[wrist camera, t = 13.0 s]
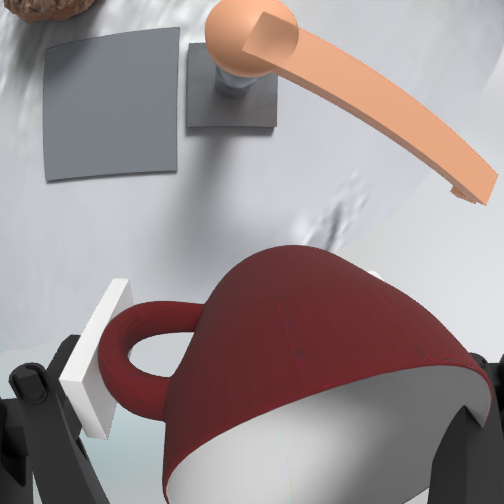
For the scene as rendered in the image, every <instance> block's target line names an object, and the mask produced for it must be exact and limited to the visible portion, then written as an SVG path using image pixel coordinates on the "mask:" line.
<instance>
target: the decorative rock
mask: <svg viewBox="0 0 504 504" xmlns="http://www.w3.org/2000/svg"><path fill="white" fill-rule="evenodd" d="M94 1H96V0H4V7H6V8H7V9H9V10H10V11H11V13H12V14H17V15H18V16H19V17H20V20H23V21H25V22H27V23H33V22H35V21H39V20H51V21H54V20H66V19H68V18H70V17H71V16H74V15H77V14H80V13H81V12H84V11H86V10H87V9H88V7H89V6H90V5H91V4H92V3H93V2H94Z"/></svg>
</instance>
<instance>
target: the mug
mask: <svg viewBox="0 0 504 504" xmlns="http://www.w3.org/2000/svg"><path fill="white" fill-rule="evenodd" d="M178 332H194V335H193V337H192V339H191V342H190V344H189V346H188V348H187V350H186V352H185V355H184V357H183V359H182V361H181V363H180V364H179V366H178V368H177V369H176V371H175V373H174V374H173V375H172V376H171V377H161V376H156V375H152V374H149V373H146V372H143V371H141V370H139V369H138V368H136V367H135V366H134V365H133V364H132V363H131V362H130V361H129V359H128V353H129V351H130V350H131V349H132V347H133V346H134V345H135V344H136V343H138V342H139V341H141V340H143V339H146V338H148V337H152V336H155V335H160V334H167V333H178ZM97 357H98V367H99V371H100V374H101V377H102V380H103V382H104V385H105V387H106V388H107V390H108V391H109V393H110V394H111V396H112V397H113V398H114V399H115V400H116V401H117V402H118V403H119V404H120V405H121V406H122V407H123V408H125V409H127V410H128V411H130V412H131V413H133V414H136V415H138V416H141V417H144V418H148V419H152V420H158V421H163V422H165V423H166V431H165V443H164V458H163V475H162V486H163V494H164V497H165V500H166V502H167V504H404V503H405V502H407V501H409V500H411V499H412V498H414V497H415V496H417V495H418V494H420V493H421V492H423V491H424V490H426V489H427V488H429V487H430V478H431V469H432V461H433V459H434V456H435V454H436V451H437V449H438V447H439V444H440V442H441V440H442V438H443V436H444V434H445V432H446V430H447V428H448V426H449V424H450V422H451V421H452V419H453V418H454V416H455V415H456V413H457V412H458V411H459V410H460V408H461V407H462V406H463V405H464V404H465V406H466V407H467V408H468V410H469V411H470V412H471V413H472V415H473V416H474V417H475V419H476V420H477V421H478V423H479V424H480V425H481V427H484V426H485V424H486V421H487V419H488V416H489V413H490V410H491V406H492V399H493V390H492V386H491V382H490V380H489V378H488V376H487V375H486V373H485V372H484V370H483V369H482V368H481V367H480V366H479V364H478V363H477V362H476V361H475V360H474V359H473V357H472V356H471V355H470V354H469V353H468V351H467V350H466V349H465V348H464V347H463V346H462V345H461V344H460V342H459V341H458V340H457V339H456V338H455V337H454V336H453V335H452V334H451V333H450V332H449V331H448V330H447V329H446V327H445V326H444V325H443V324H442V323H441V322H440V321H439V320H438V319H437V318H436V317H435V316H433V315H432V314H431V313H430V312H429V311H428V310H427V309H425V308H424V307H423V306H422V305H420V304H419V303H418V302H416V301H415V300H413V299H412V298H410V297H409V296H408V295H406V294H405V293H403V292H401V291H400V290H398V289H396V288H395V287H393V286H391V285H389V284H387V283H386V282H384V281H382V280H380V279H379V278H377V277H375V276H373V275H372V274H370V273H368V272H366V271H364V270H363V269H361V268H359V267H357V266H355V265H353V264H352V263H350V262H348V261H346V260H344V259H342V258H341V257H339V256H337V255H335V254H333V253H330V252H328V251H325V250H322V249H319V248H315V247H309V246H302V245H286V246H278V247H273V248H269V249H266V250H263V251H260V252H258V253H255V254H253V255H251V256H250V257H248V258H246V259H244V260H243V261H241V262H240V263H238V264H237V265H236V266H235V267H233V268H232V269H231V270H230V271H229V272H228V273H227V274H226V275H225V276H224V277H223V279H222V280H221V281H220V282H219V283H218V285H217V286H216V288H215V289H214V290H213V292H212V294H211V295H210V297H209V298H208V300H207V301H206V303H205V304H197V303H187V302H176V301H153V302H146V303H141V304H137V305H134V306H132V307H129V308H127V309H125V310H124V311H122V312H120V313H119V314H118V315H117V316H115V317H114V318H113V319H112V320H111V321H110V322H109V323H108V324H107V326H106V327H105V329H104V331H103V333H102V335H101V338H100V340H99V345H98V350H97Z"/></svg>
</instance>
